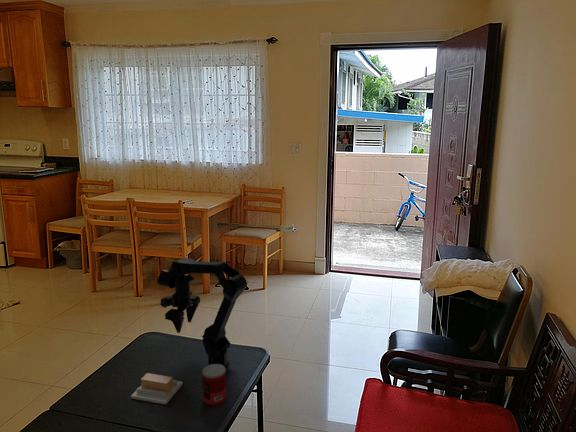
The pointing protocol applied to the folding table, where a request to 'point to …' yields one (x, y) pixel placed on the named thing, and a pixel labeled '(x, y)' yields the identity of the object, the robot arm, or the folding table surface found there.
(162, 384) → the chute block
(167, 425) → the folding table surface
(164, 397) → the deck plate
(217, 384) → the canned food
